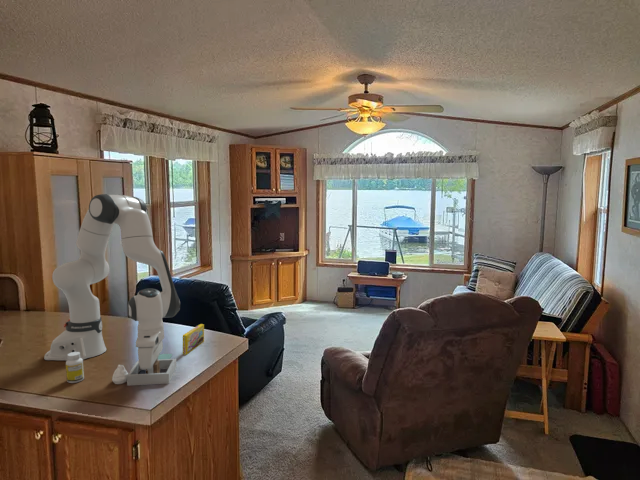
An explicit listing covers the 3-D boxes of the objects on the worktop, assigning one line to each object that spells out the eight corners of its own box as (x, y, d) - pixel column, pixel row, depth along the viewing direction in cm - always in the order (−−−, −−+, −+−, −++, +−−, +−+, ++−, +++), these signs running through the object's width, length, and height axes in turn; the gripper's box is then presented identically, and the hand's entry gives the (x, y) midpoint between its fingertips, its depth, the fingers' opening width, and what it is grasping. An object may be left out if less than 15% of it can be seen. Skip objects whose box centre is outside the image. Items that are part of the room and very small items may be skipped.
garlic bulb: (130, 362, 163) (124, 368, 158) (131, 378, 164) (125, 384, 158) (115, 362, 163) (108, 368, 158) (116, 378, 164) (109, 384, 158)
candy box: (187, 355, 186) (186, 335, 185) (182, 354, 187) (181, 335, 186) (204, 341, 202) (204, 323, 201) (200, 341, 202) (199, 323, 201)
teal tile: (136, 367, 173) (136, 365, 173) (144, 356, 184) (144, 354, 184) (166, 366, 175) (166, 364, 175) (172, 355, 185) (172, 353, 185)
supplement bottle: (71, 377, 165) (69, 351, 163) (86, 376, 165) (85, 350, 164) (64, 383, 159) (62, 356, 158) (80, 383, 160) (78, 356, 158)
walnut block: (145, 378, 163) (145, 365, 163) (148, 374, 167) (148, 361, 167) (157, 378, 164) (156, 364, 163) (159, 373, 168) (159, 360, 167)
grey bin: (127, 385, 158) (126, 375, 157) (138, 369, 171) (137, 360, 171) (169, 383, 159) (168, 373, 159) (176, 367, 173) (176, 358, 173)
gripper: (149, 326, 173) (150, 361, 175) (134, 344, 153) (136, 383, 155) (166, 325, 174) (167, 360, 176) (153, 343, 154) (155, 382, 156)
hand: (152, 371), depth 165 cm, fingers closed on walnut block, 4 cm apart
